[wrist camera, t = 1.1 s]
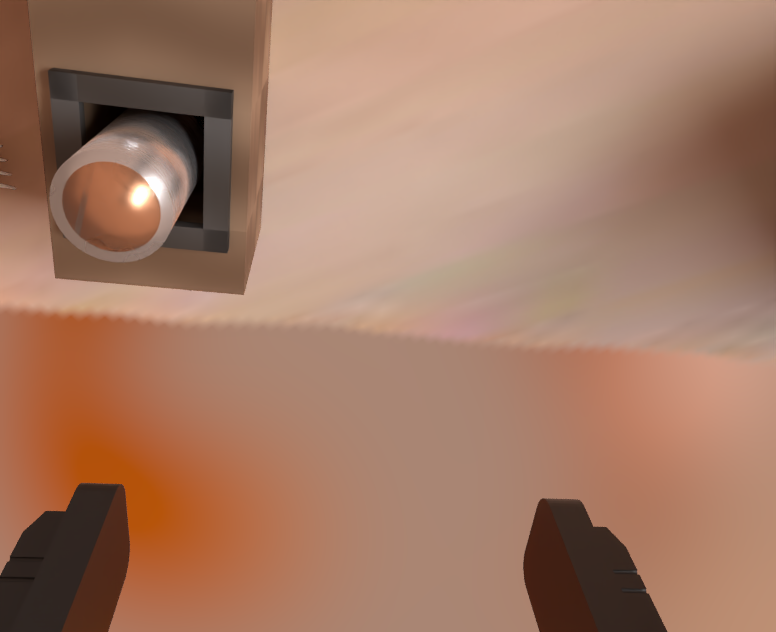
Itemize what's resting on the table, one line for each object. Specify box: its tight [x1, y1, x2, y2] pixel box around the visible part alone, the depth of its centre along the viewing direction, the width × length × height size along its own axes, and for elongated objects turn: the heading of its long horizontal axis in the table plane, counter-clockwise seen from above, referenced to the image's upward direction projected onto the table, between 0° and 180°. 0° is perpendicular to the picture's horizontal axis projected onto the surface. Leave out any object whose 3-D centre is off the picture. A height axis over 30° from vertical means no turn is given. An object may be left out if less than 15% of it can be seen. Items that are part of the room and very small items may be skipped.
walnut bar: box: [27, 0, 272, 295], centre depth 29 cm, size 22×8×9 cm, turn 172°
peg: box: [49, 108, 204, 263], centre depth 27 cm, size 4×4×8 cm
